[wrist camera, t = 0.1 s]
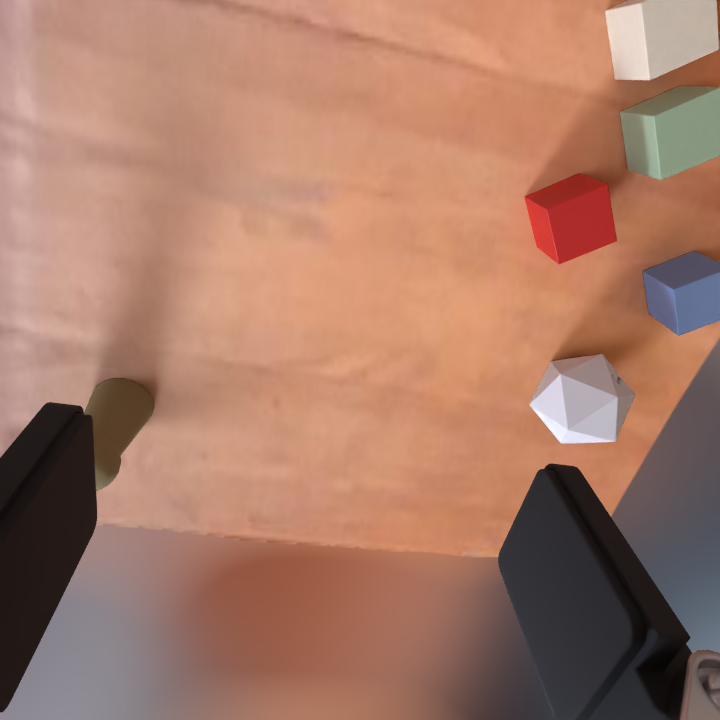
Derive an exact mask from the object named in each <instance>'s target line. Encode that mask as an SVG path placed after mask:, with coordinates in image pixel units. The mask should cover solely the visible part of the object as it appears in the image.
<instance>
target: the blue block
mask: <svg viewBox="0 0 720 720" xmlns="http://www.w3.org/2000/svg"><path fill="white" fill-rule="evenodd" d="M643 278H644V285H645V292H646V299H647V305H648V312H649V315H651V316H652V317H654V318H655V319H656V320H658V321H659V322H660V323H662V324H663V325H665V326H666V327H667V328H669V329H670V330H672V331H673V332H674V333H676V334H677V335H682V334H685V333H687V332H690V331H693V330H695V329H698V328H701V327H703V326H706V325H709V324H711V323H714V322H717V321H719V320H720V263H719V262H717V261H715V260H713V259H711V258H709V257H707V256H705V255H702V254H700V253H698V252H696V251H692V252H690V253H687V254H684V255H682V256H679V257H677V258H674V259H672V260H669V261H667V262H664V263H662V264H659V265H657V266H654V267H652V268H649V269H646V270H644V271H643Z"/></svg>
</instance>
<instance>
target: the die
mask: <svg viewBox="0 0 720 720" xmlns="http://www.w3.org/2000/svg"><path fill="white" fill-rule="evenodd" d="M634 397H635V394H634V392H633V391H632V390H631V389H630V388H629V386H628V385H627V384H626V383H625V381H624V380H623V379H622V378H621V376H620V375H619V374H618V373H617V371H616V370H615V369H614V368H613V366H612V365H611V364H610V363H609V361H608V360H607V359H606V358H605V356H604V355H603V354H598V355H591V356H584V357H577V358H570V359H563V360H556V361H550V363H549V365H548V367H547V369H546V371H545V373H544V375H543V377H542V379H541V382H540V384H539V386H538V388H537V390H536V392H535V394H534V396H533V398H532V400H531V402H530V404H529V405H530V406H531V407H532V408H533V410H534V411H535V412H536V413H537V415H538V416H539V417H540V418H541V419H542V421H543V422H544V423H545V424H546V425H547V427H548V428H549V429H550V430H551V432H552V433H553V434H554V435H555V436H556V438H557V439H558V440H559V441H560V443H591V442H615V441H616V439H617V437H618V434H619V432H620V430H621V427H622V425H623V423H624V420H625V418H626V415H627V413H628V411H629V408H630V406H631V404H632V401H633V399H634Z"/></svg>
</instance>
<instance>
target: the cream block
mask: <svg viewBox="0 0 720 720" xmlns="http://www.w3.org/2000/svg"><path fill="white" fill-rule="evenodd" d="M605 14H606V21H607V28H608V35H609V42H610V49H611V56H612V63H613V70H614V77H615V80H651V79H654V78H656V77H658V76H661V75H663V74H665V73H667V72H670V71H672V70H674V69H676V68H679V67H681V66H683V65H685V64H688V63H690V62H692V61H694V60H697V59H699V58H701V57H703V56H706V55H708V54H710V53H712V52H715V51H717V50H719V34H718V15H717V0H627V1H625V2H622V3H620V4H618V5H616V6H614V7H612V8H610V9H607V10H606V11H605Z"/></svg>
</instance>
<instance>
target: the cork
mask: <svg viewBox="0 0 720 720" xmlns="http://www.w3.org/2000/svg"><path fill="white" fill-rule="evenodd" d="M153 409H154V405H153V400H152V398H151V396H150V394H149V392H147V391H146V390H145V389H144V388H143V387H142V386H141V385H139V384H137V383H136V382H134V381H131V380H127V379H123V378H113V379H109V380H105V381H103V382H102V383H100V384H99V385H97V387H96V388H95V390H94V391H93V393H92V396H91V398H90V400H89V403H88V405H87V407H86V410H85V412H84V414H87V415H91V416H92V419H93V435H94V457H95V478H96V491H98V490H100V489H103V488H104V487H106V486H108V485H109V484H110V483H111V482H112V481H113V480H114V478H115V477H116V476H117V474H118V472H119V469H120V464H121V457H120V456H121V454H122V453H123V452H124V450H125V449H126V448H127V447H128V445H129V444H130V443H131V441H132V440H133V439H134V438H135V436H136V435H137V434H138V432H139V431H140V430H141V429H142V427H143V426H144V425H145V423H146V422H147V421H148V419H149V418H150V417H151V416H152V413H153Z"/></svg>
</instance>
